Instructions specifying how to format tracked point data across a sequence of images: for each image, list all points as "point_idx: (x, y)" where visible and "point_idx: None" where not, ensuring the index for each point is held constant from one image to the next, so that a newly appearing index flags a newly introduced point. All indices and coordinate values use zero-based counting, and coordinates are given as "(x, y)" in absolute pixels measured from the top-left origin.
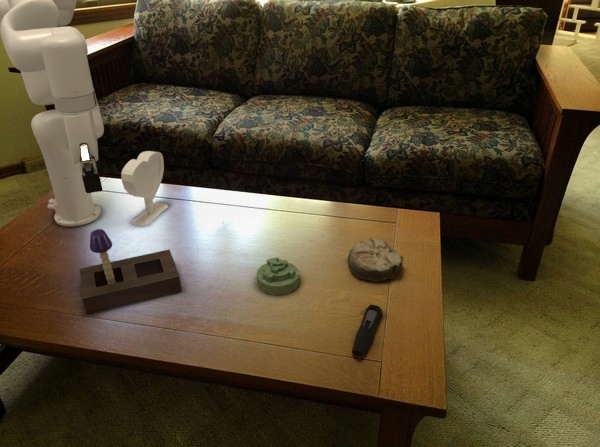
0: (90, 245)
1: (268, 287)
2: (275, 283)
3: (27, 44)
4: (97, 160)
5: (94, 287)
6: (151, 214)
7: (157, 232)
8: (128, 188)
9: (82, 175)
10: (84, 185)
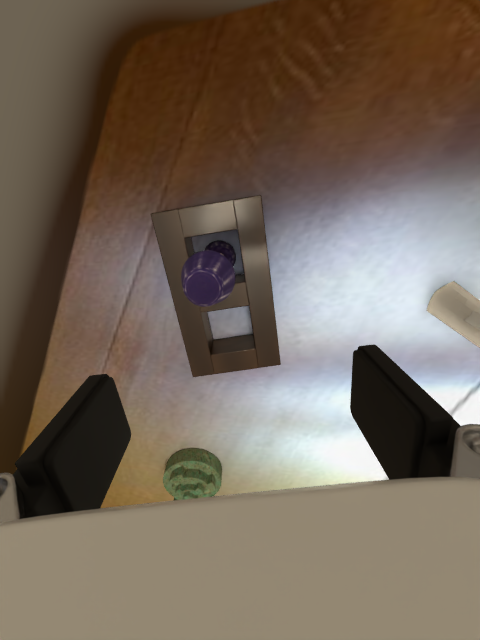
0: (196, 256)
1: (168, 466)
2: (169, 476)
3: None
4: (386, 469)
5: (184, 235)
6: (459, 319)
7: (389, 327)
8: None
9: (18, 466)
10: (68, 403)
